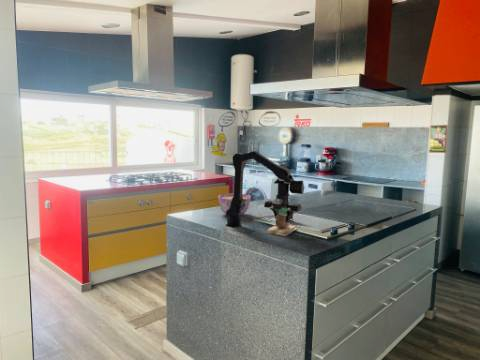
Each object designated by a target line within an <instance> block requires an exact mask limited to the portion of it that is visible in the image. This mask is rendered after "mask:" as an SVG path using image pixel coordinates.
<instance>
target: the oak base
mask: <svg viewBox="0 0 480 360" xmlns="http://www.w3.org/2000/svg"><path fill="white" fill-rule="evenodd" d="M295 226H296V225H293V226H292V225H291V224H288V226H287V227H285V228H281V227H276V224H275V225H272V226H271V227H269V228H267V231H266V233H267V234H271V235H277V236H282V237H288V235H289V234H292V233H293V232H294V231H295V230H294V228H295Z"/></svg>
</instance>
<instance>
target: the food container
mask: <svg viewBox="0 0 480 360" xmlns="http://www.w3.org/2000/svg"><path fill="white" fill-rule="evenodd" d="M288 205H290V203H289V204H288ZM287 210H288V208H282V209H279V214H280V213H281V214H287V212H286V211H287ZM293 218H294V212H293V213H292V215H291V217H290V219H292V220H293ZM290 219H289V220H290Z"/></svg>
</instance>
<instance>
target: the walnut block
mask: <svg viewBox="0 0 480 360" xmlns="http://www.w3.org/2000/svg"><path fill="white" fill-rule="evenodd" d="M286 219H287V214H281V213H280V214H278V215H276V219H275V225H276V227H281V228H285V227H287V226H288V225H289V222H288V223H286Z"/></svg>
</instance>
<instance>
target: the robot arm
mask: <svg viewBox="0 0 480 360" xmlns="http://www.w3.org/2000/svg"><path fill="white" fill-rule="evenodd" d="M249 160H254V161H256V162H257V163H259V164H260V165H262V166H263V167H265V168H267V170H270V171H271V172H272V174H273V175H274V176H276V180H275V181H274V182H273V184H277V194H276V195H275V199H274V200H269V199H268V200H266V201H265V202H264V204H263V207H264V208H267V209H269V210H271V211H272V213H273V215H274V218H275V220H276V215H278V214H279V209H282V208H288V210H287V211H286V212H287V219H286V223H288V224H289V222H290V221H289V219H290V217H291V215H292V213H293V214H294V212H300V211H301V210H302V208H303V207H302V205H301V204H299V203H293V204H290V201H289V198H290V196H291V195H290V193H291V194H298V195H304V194H305V193H304V192H305V184H304V180H295V179H294V177H293V175H292V174H291V170H290V169H289V168H287V167H285V166H283V165H280V164H277V163H276V162H273V161H272V160H270V159H269V158H268V157H266V156H264V155H263V154H261V153H260V152H258V150H252V151H250V152H247V153H244V152H238V153H235V154H234V155H232V166H233V168H234V182H233V183H234V184H233V193H234V196H233V199H232V201H231V205H230V208H229V209H228V210H227V211H226V216H227V217H226V218H227V221H226V224H225V226H226V227H230V228H231V227H233V228H237V227H240V226H242V223H241V216H240V214H239V213H241V211H242V210H243V209H244V207H245V199H243V197H242V194H243V183H244V182H243V181H244V170H245V168H246V164H247V161H249ZM288 204H289V205H288Z"/></svg>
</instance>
